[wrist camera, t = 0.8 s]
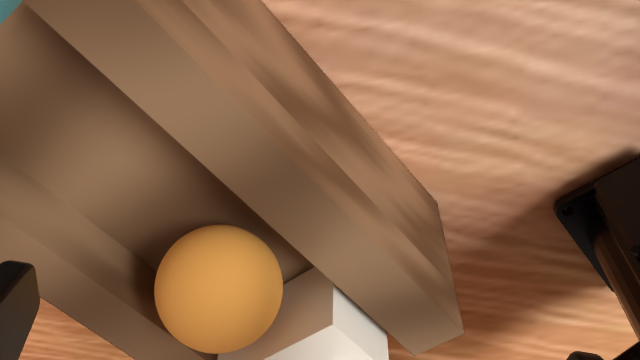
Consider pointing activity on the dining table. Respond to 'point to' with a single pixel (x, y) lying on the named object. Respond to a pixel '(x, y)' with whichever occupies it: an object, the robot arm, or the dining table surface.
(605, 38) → the dining table surface
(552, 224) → the dining table surface
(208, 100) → the launcher deck
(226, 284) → the ball
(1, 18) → the teal open box
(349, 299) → the white offset block
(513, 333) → the dining table surface
